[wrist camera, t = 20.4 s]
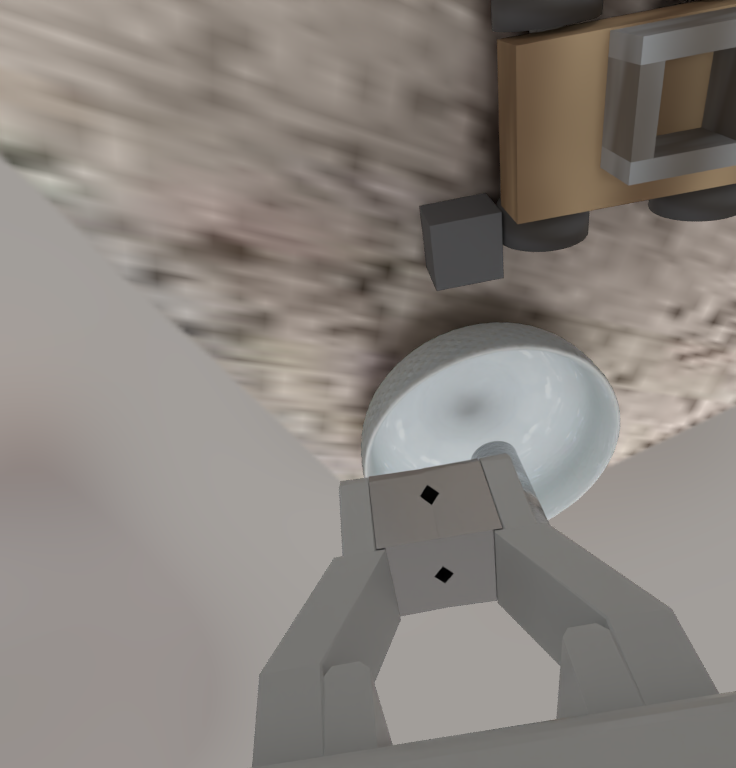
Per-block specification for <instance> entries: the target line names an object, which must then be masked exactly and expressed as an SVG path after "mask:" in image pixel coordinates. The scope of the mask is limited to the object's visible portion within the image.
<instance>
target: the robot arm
mask: <svg viewBox="0 0 736 768" xmlns="http://www.w3.org/2000/svg"><path fill="white" fill-rule="evenodd" d="M339 498H340V517H341V536H342V554H343V556H341V557H336V558H334V559H333V560H332V562H331V564H330V565H329V567H328V568H327V570H326V571H325V573H324V575H323V576H322V578H321V579H320V581H319V582H318V584H317V585H316V587H315V589H314V590H313V592H312V593H311V595H310V597H309V598H308V600H307V601H306V603H305V604H304V606H303V607H302V609H301V611H300V612H299V614H298V615H297V617H296V618H295V620H294V621H293V623H292V625H291V626H290V628H289V629H288V631H287V633H286V634H285V635H284V637H283V639H282V640H281V642H280V643H279V645H278V647H277V648H276V650H275V651H274V653H273V654H272V656H271V657H270V659H269V661H268V662H267V664H266V665H265V667H264V668H263V670H262V671H261V673H260V675H259V685H258V698H257V711H256V724H255V736H254V749H253V762H252V768H736V691H734V692H728V693H721V694H719V692H718V690H717V689H716V687H715V685H714V683H713V681H712V680H711V678H710V676H709V674H708V672H707V671H706V669H705V667H704V665H703V664H702V662H701V660H700V658H699V656H698V655H697V653H696V651H695V649H694V648H693V646H692V644H691V642H690V640H689V639H688V637H687V635H686V633H685V631H684V630H683V628H682V626H681V624H680V623H679V621H678V619H677V617H676V616H675V614H674V612H673V610H672V609H671V608H669V607H668V606H667V605H665V604H664V603H662V602H661V601H660V600H658V599H657V598H655V597H654V596H652V595H651V594H649V593H648V592H647V591H645V590H643V589H642V588H641V587H639V586H638V585H636V584H635V583H633V582H632V581H630V580H629V579H628V578H626V577H625V576H623V575H622V574H620V573H619V572H617V571H616V570H614V569H613V568H612V567H610V566H609V565H607V564H606V563H604V562H603V561H601V560H600V559H599V558H597V557H596V556H594V555H593V554H591V553H590V552H588V551H587V550H585V549H584V548H583V547H581V546H580V545H578V544H577V543H575V542H574V541H573V540H571V539H569V538H568V537H567V536H565V535H564V534H562V533H561V532H559V531H558V530H557V529H555V528H554V527H552V526H551V525H549V524H548V523H538V524H537V521H536V519H535V516H534V514H533V511H532V509H531V507H530V504H529V502H528V499H527V497H526V494H525V492H524V490H523V487H522V485H521V482H520V480H519V477H518V475H517V472H516V470H515V468H514V465H513V463H512V460H511V458H510V456H509V455H508V454H507V453H504V454H498V455H493V456H487V457H482V458H478V459H471V460H466V461H460V462H455V463H449V464H444V465H438V466H432V467H427V468H423V469H417V470H410V471H403V472H397V473H390V474H383V475H376V476H369V478H368V477H367V478H360V479H353V480H346V481H340V486H339ZM497 600H498V604H499V605H500V606H501V607H503V608H504V610H505V611H506V612H507V613H508V614H509V615H510V616H511V617H512V618H513V619H514V620H515V621H516V622H517V623H518V624H519V625H520V626H521V627H522V628H523V629H524V630H525V631H526V632H527V633H528V634H529V635H530V636H531V637H532V638H533V639H534V640H535V641H536V642H537V643H538V644H539V645H540V646H541V647H542V648H543V649H544V650H545V651H546V652H547V653H548V654H549V655H550V656H551V657H552V658H553V659H554V660H555V661H556V662H557V663H558V664H559V665H560V680H559V692H558V693H559V694H558V705H557V719H556V720H549V721H543V722H537V723H530V724H524V725H517V726H511V727H505V728H499V729H493V730H486V731H480V732H473V733H467V734H461V735H454V736H448V737H442V738H435V739H429V740H423V741H416V742H410V743H404V744H398V745H393V744H392V741H391V738H390V734H389V731H388V727H387V724H386V721H385V717H384V714H383V711H382V707H381V704H380V700H379V697H378V694H377V690H376V687H375V680H376V678H377V675H378V673H379V671H380V668H381V666H382V663H383V661H384V659H385V656H386V654H387V651H388V649H389V647H390V644H391V642H392V639H393V637H394V635H395V632H396V630H397V627H398V625H399V622H400V620H401V619H400V616H405V615H410V614H415V613H420V612H425V611H431V610H436V609H441V608H446V607H453V606H461V605H468V604H475V603H483V602H490V601H497Z"/></svg>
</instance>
